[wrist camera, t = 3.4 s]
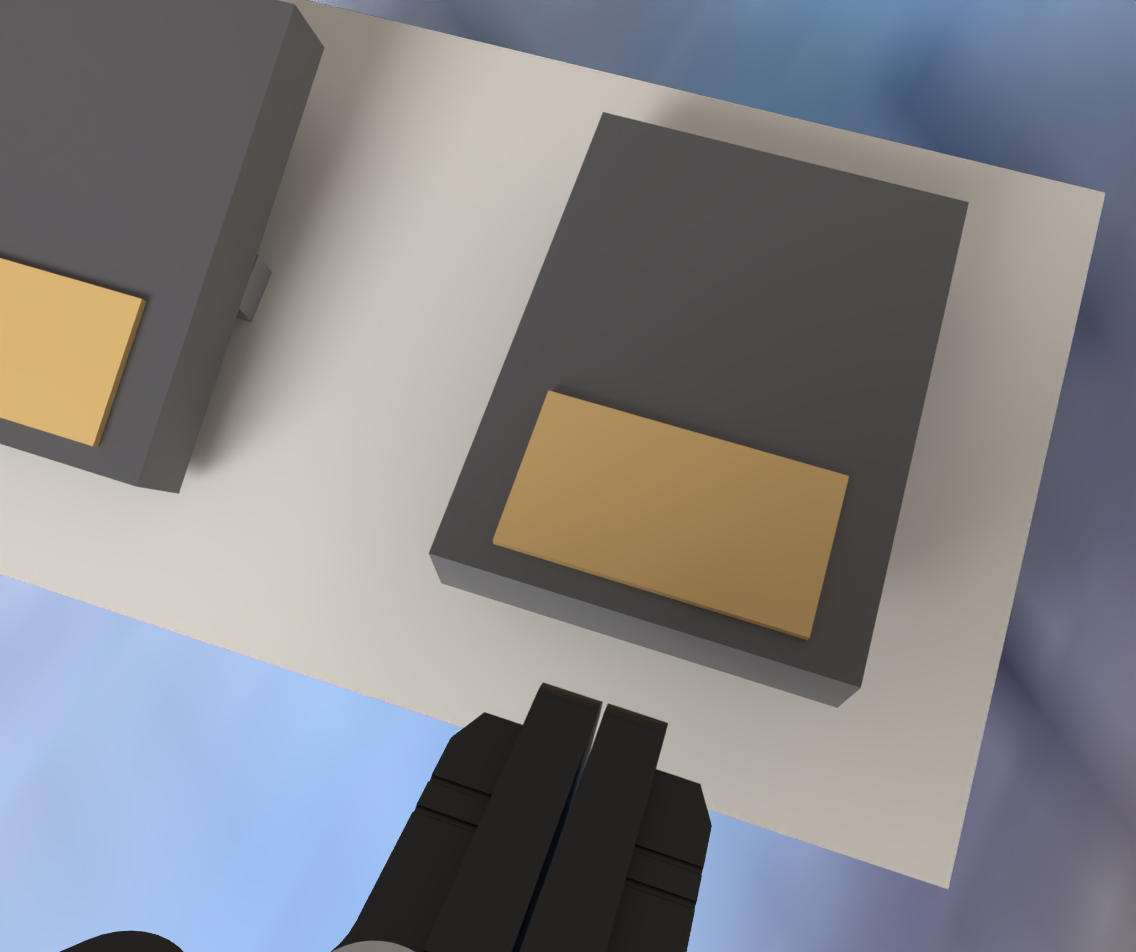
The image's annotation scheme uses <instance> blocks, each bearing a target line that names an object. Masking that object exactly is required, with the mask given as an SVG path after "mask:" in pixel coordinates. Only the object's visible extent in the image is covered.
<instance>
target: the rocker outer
mask: <svg viewBox="0 0 1136 952" xmlns="http://www.w3.org/2000/svg"><path fill="white" fill-rule="evenodd" d="M968 204H969V202H966V201H962V200H958V199H954V198H950V197H946V196H942V195H938V194H934V193H930V192H926V191H922V190H918V189H914V188H910V187H905V186H901V185H897V184H893V183H889V182H885V181H881V180H877V179H873V178H869V177H865V176H861V175H857V174H853V173H849V172H845V171H841V170H837V169H833V168H828V167H824V166H820V165H816V164H812V163H808V162H804V161H800V160H796V159H792V158H788V157H784V156H780V155H776V154H772V153H768V152H764V151H760V150H755V149H751V148H747V147H743V146H739V145H735V144H731V143H727V142H723V141H719V140H715V139H711V138H707V137H703V136H699V135H695V134H691V133H687V132H682V131H678V130H674V129H670V128H666V127H662V126H658V125H654V124H650V123H646V122H642V121H638V120H634V119H630V118H626V117H622V116H618V115H614V114H609V113H605V112H603V113H602V116H601V118H600V121H599V123H598V126H597V128H596V131H595V133H594V136H593V138H592V141H591V144H590V146H589V149H588V151H587V154H586V156H585V159H584V161H583V164H582V166H581V169H580V171H579V174H578V176H577V179H576V182H575V184H574V187H573V189H572V192H571V194H570V197H569V199H568V202H567V204H566V207H565V209H564V212H563V214H562V217H561V219H560V222H559V225H558V227H557V230H556V232H555V235H554V237H553V240H552V242H551V245H550V247H549V250H548V252H547V255H546V257H545V260H544V263H543V265H542V268H541V270H540V273H539V275H538V278H537V280H536V283H535V285H534V288H533V290H532V293H531V295H530V298H529V300H528V303H527V306H526V308H525V311H524V313H523V316H522V318H521V321H520V323H519V326H518V328H517V331H516V333H515V336H514V338H513V341H512V344H511V346H510V349H509V351H508V354H507V356H506V359H505V361H504V364H503V366H502V369H501V371H500V374H499V376H498V379H497V382H496V384H495V387H494V389H493V392H492V394H491V397H490V399H489V402H488V404H487V407H486V409H485V412H484V414H483V417H482V419H481V422H480V425H479V427H478V430H477V432H476V435H475V437H474V440H473V442H472V445H471V447H470V450H469V452H468V455H467V457H466V460H465V463H464V465H463V468H462V470H461V473H460V475H459V478H458V480H457V483H456V485H455V488H454V490H453V493H452V495H451V498H450V500H449V503H448V506H447V508H446V511H445V513H444V516H443V518H442V521H441V523H440V526H439V528H438V531H437V533H436V536H435V538H434V541H433V544H432V546H431V549H430V551H429V555H430V558H431V560H432V563H433V565H434V567H435V570H436V572H437V574H438V577H439V579H440V581H441V583H442V584H445V585H448V586H451V587H454V588H458V589H461V590H464V591H467V592H470V593H474V594H477V595H480V596H483V597H486V598H489V599H493V600H496V601H499V602H502V603H505V604H509V605H512V606H515V607H518V608H521V609H524V610H528V611H531V612H534V613H537V614H540V615H543V616H547V617H550V618H553V619H556V620H559V621H563V622H566V623H569V624H572V625H575V626H578V627H582V628H585V629H588V630H591V631H594V632H598V633H601V634H604V635H607V636H610V637H613V638H617V639H620V640H623V641H626V642H629V643H632V644H636V645H639V646H642V647H645V648H648V649H652V650H655V651H658V652H661V653H664V654H667V655H671V656H674V657H677V658H680V659H683V660H687V661H690V662H693V663H696V664H699V665H702V666H706V667H709V668H712V669H715V670H718V671H722V672H725V673H728V674H731V675H734V676H737V677H741V678H744V679H747V680H750V681H753V682H756V683H760V684H763V685H766V686H769V687H772V688H776V689H779V690H782V691H785V692H788V693H791V694H795V695H798V696H801V697H804V698H807V699H811V700H814V701H817V702H820V703H823V704H826V705H830V706H833V707H836V708H838V707H839V706H840V705H842V704H843V703H844V702H845V701H846V700H847V699H849V698H850V697H851V696H852V695H853V694H854V693H855V692H857V691H858V690H859V689H860V688H861V685H862V681H863V676H864V672H865V667H866V663H867V658H868V654H869V649H870V645H871V640H872V636H873V631H874V627H875V622H876V618H877V613H878V609H879V604H880V600H881V595H882V591H883V586H884V582H885V577H886V573H887V568H888V564H889V559H890V555H891V550H892V546H893V541H894V537H895V532H896V528H897V523H898V519H899V514H900V510H901V505H902V501H903V496H904V492H905V487H906V483H907V478H908V474H909V469H910V465H911V460H912V456H913V451H914V447H915V442H916V438H917V433H918V429H919V424H920V420H921V415H922V411H923V406H924V402H925V398H926V393H927V389H928V384H929V380H930V375H931V371H932V366H933V362H934V357H935V353H936V348H937V344H938V339H939V335H940V330H941V326H942V321H943V317H944V312H945V308H946V303H947V299H948V294H949V290H950V285H951V281H952V276H953V272H954V267H955V263H956V258H957V254H958V249H959V245H960V240H961V236H962V231H963V227H964V222H965V218H966V213H967V209H968Z"/></svg>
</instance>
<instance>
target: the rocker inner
mask: <svg viewBox="0 0 1136 952" xmlns="http://www.w3.org/2000/svg"><path fill="white" fill-rule="evenodd" d="M324 48H325V47H324V46H323V45H322V43H321V42H320V40H319V39H318V37H317V36H316V34H315V33H314V31H313V30H312V28H311V27H310V26H309V24H308V23H307V21H306V20H305V18H304V17H303V15H302V14H301V12H300V11H299V9H298V8H297V7H296V5H295V4H292V3H288V2H284V1H279V0H0V444H2V445H5V446H9V447H12V448H15V449H18V450H21V451H25V452H28V453H31V454H34V455H37V456H40V457H44V458H47V459H50V460H53V461H56V462H60V463H63V464H66V465H69V466H72V467H75V468H79V469H82V470H85V471H88V472H91V473H95V474H98V475H101V476H104V477H107V478H110V479H114V480H117V481H120V482H123V483H126V484H129V485H133V486H136V487H141V488H147V489H153V490H159V491H165V492H171V493H177V494H179V492H180V489H181V486H182V483H183V480H184V477H185V474H186V471H187V467H188V464H189V461H190V458H191V455H192V452H193V449H194V446H195V443H196V440H197V437H198V434H199V431H200V428H201V425H202V422H203V418H204V415H205V412H206V409H207V406H208V403H209V400H210V397H211V394H212V391H213V388H214V385H215V382H216V379H217V376H218V373H219V369H220V366H221V363H222V360H223V357H224V354H225V351H226V348H227V345H228V342H229V339H230V336H231V333H232V330H233V327H234V323H235V320H236V317H237V314H238V311H239V308H240V305H241V302H242V299H243V296H244V293H245V290H246V287H247V284H248V281H249V278H250V274H251V271H252V268H253V265H254V262H255V259H256V256H257V253H258V250H259V247H260V244H261V241H262V238H263V235H264V232H265V228H266V225H267V222H268V219H269V216H270V213H271V210H272V207H273V204H274V201H275V198H276V195H277V192H278V189H279V186H280V183H281V179H282V176H283V173H284V170H285V167H286V164H287V161H288V158H289V155H290V152H291V149H292V146H293V143H294V140H295V137H296V134H297V130H298V127H299V124H300V121H301V118H302V115H303V112H304V109H305V106H306V103H307V100H308V97H309V94H310V91H311V88H312V84H313V81H314V78H315V75H316V72H317V69H318V66H319V63H320V60H321V57H322V54H323V51H324Z"/></svg>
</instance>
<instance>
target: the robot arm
mask: <svg viewBox="0 0 1136 952" xmlns="http://www.w3.org/2000/svg"><path fill="white" fill-rule="evenodd" d="M602 704H603V702H602V701H599V700H596V699H593V698H590V697H587V696H584V695H581V694H577V693H574V692H571V691H568V690H565V689H562V688H559V687H556V686H553V685H550V684H547V683H544V682H543V683H542V684H541V686H540V688H539V689H538V692H537V694H536V696H535V698H534V701H533V703H532V705H531V707H530V710H529V712H528V714H527V716H526V719H525V721H524V723H523V725H522V724H519V723H516V722H513V721H510V720H507V719H504V718H501V717H498V716H495V715H492V714H489V713H486V712H484V713H482V714H481V715H480V716H479V717H477V718H476V719H475V720H473V721H472V722H471V723H469V724H468V725H467V726H466V727H464V728H463V729H462V730H460V731H459V732H458V733H456V734H455V735H454V736H453V737H451V739H450V740H449V742H448V744H447V746H446V748H445V750H444V752H443V754H442V756H441V758H440V760H439V762H438V764H437V766H436V768H435V770H434V771H433V773H432V777H431V779H430V782H429V781H428V783H427V785H426V787H425V789H424V791H423V793H422V795H421V797H420V799H419V801H418V802H417V805H416V808H415V811H414V812H412V814H411V816H410V818H409V820H408V822H407V824H406V826H405V828H404V830H403V832H402V834H401V835H400V837H399V839H398V841H397V843H396V845H395V847H394V849H393V851H392V853H391V855H390V857H389V859H388V861H387V863H386V865H385V866H384V868H383V870H382V872H381V874H380V876H379V878H378V880H377V882H376V884H375V886H374V888H373V890H372V892H371V894H370V896H369V897H368V899H367V901H366V903H365V905H364V907H363V909H362V911H361V913H360V915H359V917H358V919H357V921H356V923H355V924H354V926H353V927H352V929H351V931H350V932H349V934H348V935H347V936H346V937H345V938H344V939H343V941H342V942H341V943H340V944H339V945H338V946H337V947H336V948H334V949H333V950H332V951H331V952H687V947H688V942H689V937H690V932H691V927H692V922H693V917H694V912H695V910H694V909H695V905H696V902H697V897H698V892H699V887H700V882H701V877H702V875H701V874H702V870H703V867H704V862H705V857H706V852H707V847H708V842H709V837H710V832H711V827H712V825H711V821H710V818H709V814H708V810H707V806H706V803H705V799H704V795H703V791H702V787H701V784H700V783H697V782H694V781H691V780H688V779H685V778H682V777H679V776H676V775H673V774H670V773H667V772H664V771H661V770H658V769H656V767H657V763H658V760H659V756H660V752H661V749H662V745H663V741H664V738H665V734H666V730H667V726H668V723H667V722H664V721H661V720H658V719H655V718H652V717H649V716H646V715H643V714H640V713H636V712H633V711H630V710H627V709H624V708H621V707H618V706H615V705H612V704H609V703H608V704H607V706H606V709H605V712H604V714H603V717H602V720H601V723H600V726H599V729H598V731H597V734H596V737H595V740H594V743H593V739H594V735H595V732H596V728H597V724H598V720H599V717H600V713H601V709H602ZM592 743H593V746H592ZM591 747H592V748H591ZM60 952H183V951H182V950H181V949H180V948H179V947H178V946H177V945H175V944H174V943H173V942H171V941H170V940H168V939H166V938H163V937H161V936H159V935H156V934H152V933H148V932H142V931H118V932H112V933H108V934H103V935H100V936H97V937H94V938H91V939H88V940H86V941H84V942H81V943H79V944H77V945H74V946H72V947H70V948H67V949H65V950H63V951H60Z"/></svg>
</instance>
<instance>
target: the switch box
mask: <svg viewBox="0 0 1136 952" xmlns="http://www.w3.org/2000/svg"><path fill="white" fill-rule="evenodd" d="M279 1H284V2H288V3H292V4H295V5H296V7H297V8H298V9H299V11H300V12H301V14H302V15H303V17H304V18H305V20H306V21H307V23H308V24H309V26H310V27H311V28H312V30H313V31H314V33H315V34H316V36H317V37H318V39H319V40H320V42H321V43H322V45H323V46H324V47H325V48H324V51H323V54H322V57H321V60H320V63H319V66H318V69H317V72H316V75H315V78H314V81H313V84H312V88H311V91H310V94H309V97H308V100H307V103H306V106H305V109H304V112H303V115H302V118H301V121H300V124H299V127H298V130H297V134H296V137H295V140H294V143H293V146H292V149H291V152H290V155H289V158H288V161H287V164H286V167H285V170H284V173H283V176H282V179H281V183H280V186H279V189H278V192H277V195H276V198H275V201H274V204H273V207H272V210H271V213H270V216H269V219H268V222H267V225H266V228H265V232H264V235H263V238H262V241H261V244H260V247H259V250H258V253H257V256H256V259H255V262H254V265H253V268H252V271H251V274H250V278H249V281H248V284H247V287H246V290H245V293H244V296H243V299H242V302H241V305H240V308H239V311H238V314H237V317H236V320H235V323H234V327H233V330H232V333H231V336H230V339H229V342H228V345H227V348H226V351H225V354H224V357H223V360H222V363H221V366H220V369H219V373H218V376H217V379H216V382H215V385H214V388H213V391H212V394H211V397H210V400H209V403H208V406H207V409H206V412H205V415H204V418H203V422H202V425H201V428H200V431H199V434H198V437H197V440H196V443H195V446H194V449H193V452H192V455H191V458H190V461H189V464H188V467H187V471H186V474H185V477H184V480H183V483H182V486H181V489H180V492H179V494H177V493H171V492H165V491H159V490H153V489H147V488H141V487H136V486H133V485H129V484H126V483H123V482H120V481H117V480H114V479H110V478H107V477H104V476H101V475H98V474H95V473H91V472H88V471H85V470H82V469H79V468H75V467H72V466H69V465H66V464H63V463H60V462H56V461H53V460H50V459H47V458H44V457H40V456H37V455H34V454H31V453H28V452H25V451H21V450H18V449H15V448H12V447H9V446H5V445H2V444H0V574H2V575H5V576H8V577H11V578H14V579H17V580H20V581H23V582H26V583H29V584H32V585H35V586H38V587H41V588H44V589H47V590H50V591H53V592H56V593H59V594H62V595H65V596H68V597H71V598H74V599H77V600H80V601H83V602H86V603H89V604H92V605H96V606H99V607H102V608H105V609H108V610H111V611H114V612H117V613H120V614H123V615H126V616H129V617H132V618H135V619H138V620H141V621H144V622H147V623H150V624H153V625H156V626H159V627H162V628H165V629H168V630H171V631H174V632H177V633H180V634H183V635H186V636H189V637H192V638H195V639H198V640H201V641H204V642H207V643H210V644H213V645H216V646H219V647H222V648H225V649H228V650H231V651H234V652H237V653H240V654H243V655H246V656H249V657H252V658H255V659H258V660H261V661H264V662H267V663H270V664H273V665H276V666H279V667H282V668H285V669H288V670H291V671H294V672H297V673H300V674H303V675H306V676H309V677H312V678H315V679H318V680H321V681H324V682H327V683H330V684H333V685H336V686H339V687H342V688H345V689H348V690H351V691H354V692H357V693H360V694H363V695H366V696H369V697H372V698H375V699H378V700H381V701H384V702H387V703H390V704H393V705H396V706H399V707H402V708H405V709H408V710H411V711H414V712H417V713H420V714H423V715H426V716H429V717H432V718H435V719H438V720H441V721H444V722H447V723H450V724H453V725H456V726H459V727H462V728H464V727H466V726H467V725H468V724H469V723H471V722H472V721H473V720H475V719H476V718H477V717H479V716H480V715H481V714H482V713H484V712H486V713H489V714H492V715H495V716H498V717H501V718H504V719H507V720H510V721H513V722H516V723H519V724H522V725H523V723H524V721H525V719H526V716H527V714H528V712H529V710H530V707H531V705H532V703H533V701H534V698H535V696H536V694H537V692H538V689H539V688H540V686H541V684H542V683H543V682H544V683H547V684H550V685H553V686H556V687H559V688H562V689H565V690H568V691H571V692H574V693H577V694H581V695H584V696H587V697H590V698H593V699H596V700H599V701H602V702H603V704H602V709H601V713H600V717H599V720H598V724H597V728H596V732H595V735H594V739H593V743H594V740H595V737H596V734H597V731H598V729H599V726H600V723H601V720H602V717H603V714H604V712H605V709H606V706H607V704H608V703H609V704H612V705H615V706H618V707H621V708H624V709H627V710H630V711H633V712H636V713H640V714H643V715H646V716H649V717H652V718H655V719H658V720H661V721H664V722H667V723H668V726H667V730H666V734H665V738H664V741H663V745H662V749H661V752H660V756H659V760H658V763H657V767H656V769H658V770H661V771H664V772H667V773H670V774H673V775H676V776H679V777H682V778H685V779H688V780H691V781H694V782H697V783H700V784H701V787H702V791H703V795H704V799H705V803H706V806H707V809H708V810H711V811H714V812H717V813H720V814H723V815H726V816H729V817H732V818H735V819H738V820H741V821H745V822H748V823H751V824H754V825H757V826H760V827H763V828H766V829H769V830H772V831H775V832H778V833H781V834H784V835H787V836H790V837H793V838H796V839H799V840H802V841H805V842H808V843H811V844H814V845H817V846H820V847H823V848H826V849H829V850H832V851H835V852H838V853H841V854H844V855H847V856H850V857H853V858H856V859H859V860H862V861H865V862H868V863H871V864H874V865H877V866H880V867H883V868H886V869H889V870H892V871H895V872H898V873H901V874H904V875H907V876H910V877H913V878H916V879H919V880H922V881H925V882H928V883H931V884H934V885H937V886H940V887H943V888H946V889H948V888H949V883H950V879H951V874H952V870H953V866H954V861H955V857H956V852H957V848H958V844H959V839H960V835H961V830H962V826H963V821H964V817H965V813H966V808H967V804H968V799H969V795H970V790H971V786H972V782H973V777H974V773H975V768H976V764H977V759H978V755H979V751H980V746H981V742H982V737H983V733H984V729H985V724H986V720H987V715H988V711H989V706H990V702H991V698H992V693H993V689H994V684H995V680H996V675H997V671H998V667H999V662H1000V658H1001V653H1002V649H1003V644H1004V640H1005V636H1006V631H1007V627H1008V622H1009V618H1010V614H1011V609H1012V605H1013V600H1014V596H1015V591H1016V587H1017V583H1018V578H1019V574H1020V569H1021V565H1022V560H1023V556H1024V552H1025V547H1026V543H1027V538H1028V534H1029V529H1030V525H1031V521H1032V516H1033V512H1034V507H1035V503H1036V499H1037V494H1038V490H1039V485H1040V481H1041V476H1042V472H1043V468H1044V463H1045V459H1046V454H1047V450H1048V445H1049V441H1050V437H1051V432H1052V428H1053V423H1054V419H1055V414H1056V410H1057V406H1058V401H1059V397H1060V392H1061V388H1062V384H1063V379H1064V375H1065V370H1066V366H1067V361H1068V357H1069V353H1070V348H1071V344H1072V339H1073V335H1074V330H1075V326H1076V322H1077V317H1078V313H1079V308H1080V304H1081V299H1082V295H1083V291H1084V286H1085V282H1086V277H1087V273H1088V268H1089V264H1090V260H1091V255H1092V251H1093V246H1094V242H1095V238H1096V233H1097V229H1098V224H1099V220H1100V215H1101V211H1102V207H1103V202H1104V198H1105V192H1100V191H1096V190H1092V189H1088V188H1084V187H1080V186H1076V185H1071V184H1067V183H1063V182H1059V181H1055V180H1051V179H1047V178H1042V177H1038V176H1034V175H1030V174H1026V173H1022V172H1018V171H1013V170H1009V169H1005V168H1001V167H997V166H993V165H989V164H984V163H980V162H976V161H972V160H968V159H964V158H960V157H955V156H951V155H947V154H943V153H939V152H935V151H931V150H926V149H922V148H918V147H914V146H910V145H906V144H902V143H897V142H893V141H889V140H885V139H881V138H877V137H872V136H868V135H864V134H860V133H856V132H852V131H848V130H843V129H839V128H835V127H831V126H827V125H823V124H819V123H814V122H810V121H806V120H802V119H798V118H794V117H790V116H785V115H781V114H777V113H773V112H769V111H765V110H761V109H756V108H752V107H748V106H744V105H740V104H736V103H732V102H727V101H723V100H719V99H715V98H711V97H707V96H703V95H698V94H694V93H690V92H686V91H682V90H678V89H674V88H669V87H665V86H661V85H657V84H653V83H649V82H645V81H640V80H636V79H632V78H628V77H624V76H620V75H616V74H611V73H607V72H603V71H599V70H595V69H591V68H587V67H582V66H578V65H574V64H570V63H566V62H562V61H558V60H553V59H549V58H545V57H541V56H537V55H533V54H529V53H524V52H520V51H516V50H512V49H508V48H504V47H500V46H495V45H491V44H487V43H483V42H479V41H475V40H471V39H466V38H462V37H458V36H454V35H450V34H446V33H442V32H437V31H433V30H429V29H425V28H421V27H417V26H413V25H408V24H404V23H400V22H396V21H392V20H388V19H384V18H379V17H375V16H371V15H367V14H363V13H359V12H355V11H350V10H346V9H342V8H338V7H334V6H330V5H326V4H321V3H317V2H313V1H309V0H279ZM603 112H605V113H609V114H614V115H618V116H622V117H626V118H630V119H634V120H638V121H642V122H646V123H650V124H654V125H658V126H662V127H666V128H670V129H674V130H678V131H682V132H687V133H691V134H695V135H699V136H703V137H707V138H711V139H715V140H719V141H723V142H727V143H731V144H735V145H739V146H743V147H747V148H751V149H755V150H760V151H764V152H768V153H772V154H776V155H780V156H784V157H788V158H792V159H796V160H800V161H804V162H808V163H812V164H816V165H820V166H824V167H828V168H833V169H837V170H841V171H845V172H849V173H853V174H857V175H861V176H865V177H869V178H873V179H877V180H881V181H885V182H889V183H893V184H897V185H901V186H905V187H910V188H914V189H918V190H922V191H926V192H930V193H934V194H938V195H942V196H946V197H950V198H954V199H958V200H962V201H966V202H969V204H968V209H967V213H966V218H965V222H964V227H963V231H962V236H961V240H960V245H959V249H958V254H957V258H956V263H955V267H954V272H953V276H952V281H951V285H950V290H949V294H948V299H947V303H946V308H945V312H944V317H943V321H942V326H941V330H940V335H939V339H938V344H937V348H936V353H935V357H934V362H933V366H932V371H931V375H930V380H929V384H928V389H927V393H926V398H925V402H924V406H923V411H922V415H921V420H920V424H919V429H918V433H917V438H916V442H915V447H914V451H913V456H912V460H911V465H910V469H909V474H908V478H907V483H906V487H905V492H904V496H903V501H902V505H901V510H900V514H899V519H898V523H897V528H896V532H895V537H894V541H893V546H892V550H891V555H890V559H889V564H888V568H887V573H886V577H885V582H884V586H883V591H882V595H881V600H880V604H879V609H878V613H877V618H876V622H875V627H874V631H873V636H872V640H871V645H870V649H869V654H868V658H867V663H866V667H865V672H864V676H863V681H862V685H861V688H860V689H859V690H858V691H857V692H855V693H854V694H853V695H852V696H851V697H850V698H849V699H847V700H846V701H845V702H844V703H843V704H842V705H840V706H839V707H838V708H836V707H833V706H830V705H826V704H823V703H820V702H817V701H814V700H811V699H807V698H804V697H801V696H798V695H795V694H791V693H788V692H785V691H782V690H779V689H776V688H772V687H769V686H766V685H763V684H760V683H756V682H753V681H750V680H747V679H744V678H741V677H737V676H734V675H731V674H728V673H725V672H722V671H718V670H715V669H712V668H709V667H706V666H702V665H699V664H696V663H693V662H690V661H687V660H683V659H680V658H677V657H674V656H671V655H667V654H664V653H661V652H658V651H655V650H652V649H648V648H645V647H642V646H639V645H636V644H632V643H629V642H626V641H623V640H620V639H617V638H613V637H610V636H607V635H604V634H601V633H598V632H594V631H591V630H588V629H585V628H582V627H578V626H575V625H572V624H569V623H566V622H563V621H559V620H556V619H553V618H550V617H547V616H543V615H540V614H537V613H534V612H531V611H528V610H524V609H521V608H518V607H515V606H512V605H509V604H505V603H502V602H499V601H496V600H493V599H489V598H486V597H483V596H480V595H477V594H474V593H470V592H467V591H464V590H461V589H458V588H454V587H451V586H448V585H445V584H442V583H441V581H440V579H439V577H438V574H437V572H436V570H435V567H434V565H433V563H432V560H431V558H430V555H429V551H430V549H431V546H432V544H433V541H434V538H435V536H436V533H437V531H438V528H439V526H440V523H441V521H442V518H443V516H444V513H445V511H446V508H447V506H448V503H449V500H450V498H451V495H452V493H453V490H454V488H455V485H456V483H457V480H458V478H459V475H460V473H461V470H462V468H463V465H464V463H465V460H466V457H467V455H468V452H469V450H470V447H471V445H472V442H473V440H474V437H475V435H476V432H477V430H478V427H479V425H480V422H481V419H482V417H483V414H484V412H485V409H486V407H487V404H488V402H489V399H490V397H491V394H492V392H493V389H494V387H495V384H496V382H497V379H498V376H499V374H500V371H501V369H502V366H503V364H504V361H505V359H506V356H507V354H508V351H509V349H510V346H511V344H512V341H513V338H514V336H515V333H516V331H517V328H518V326H519V323H520V321H521V318H522V316H523V313H524V311H525V308H526V306H527V303H528V300H529V298H530V295H531V293H532V290H533V288H534V285H535V283H536V280H537V278H538V275H539V273H540V270H541V268H542V265H543V263H544V260H545V257H546V255H547V252H548V250H549V247H550V245H551V242H552V240H553V237H554V235H555V232H556V230H557V227H558V225H559V222H560V219H561V217H562V214H563V212H564V209H565V207H566V204H567V202H568V199H569V197H570V194H571V192H572V189H573V187H574V184H575V182H576V179H577V176H578V174H579V171H580V169H581V166H582V164H583V161H584V159H585V156H586V154H587V151H588V149H589V146H590V144H591V141H592V138H593V136H594V133H595V131H596V128H597V126H598V123H599V121H600V118H601V116H602V113H603ZM593 743H592V746H593ZM591 748H592V747H591Z"/></svg>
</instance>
